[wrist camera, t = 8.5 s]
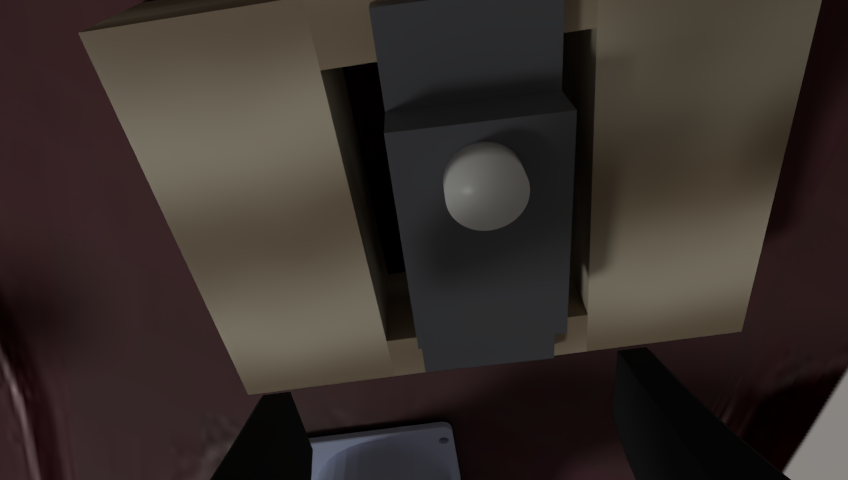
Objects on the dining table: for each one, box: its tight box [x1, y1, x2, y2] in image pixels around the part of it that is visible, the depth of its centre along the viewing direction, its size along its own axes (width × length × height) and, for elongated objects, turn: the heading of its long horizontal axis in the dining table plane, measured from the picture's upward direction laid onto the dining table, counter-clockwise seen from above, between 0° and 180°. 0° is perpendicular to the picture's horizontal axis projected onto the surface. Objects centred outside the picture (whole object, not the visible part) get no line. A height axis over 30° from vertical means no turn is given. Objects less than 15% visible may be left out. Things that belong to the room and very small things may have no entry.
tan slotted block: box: [79, 0, 822, 395], centre depth 18 cm, size 13×18×4 cm
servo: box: [369, 0, 577, 372], centre depth 17 cm, size 12×4×7 cm, turn 6°
